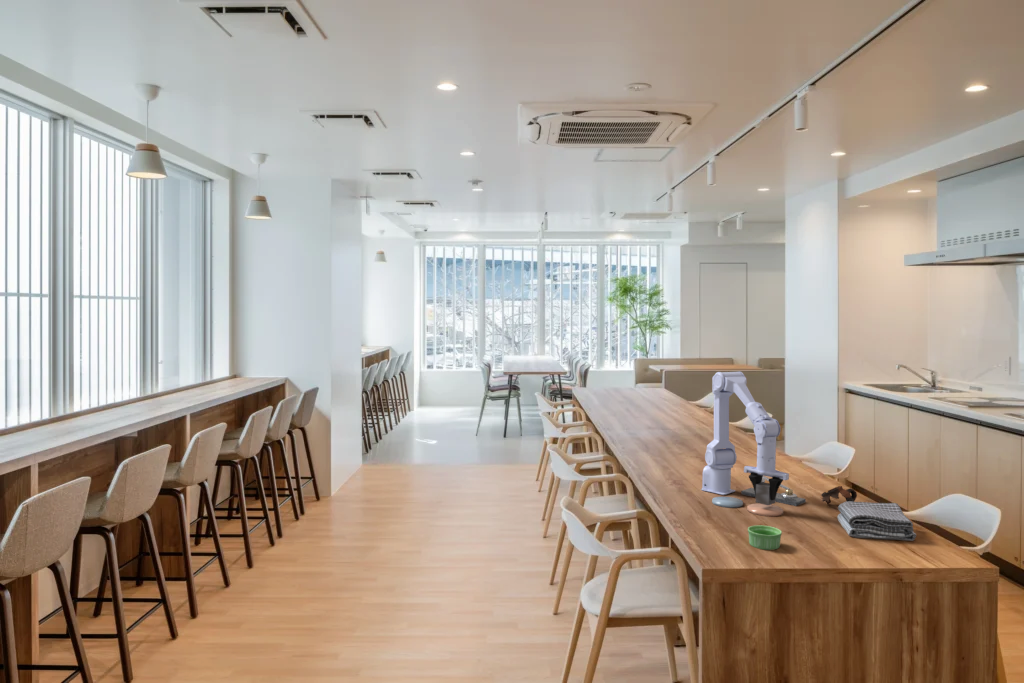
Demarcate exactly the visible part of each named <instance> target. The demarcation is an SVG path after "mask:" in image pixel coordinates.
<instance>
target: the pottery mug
mask: <svg viewBox="0 0 1024 683" xmlns="http://www.w3.org/2000/svg"><path fill="white" fill-rule="evenodd" d="M839 494H840V495H841V496H842V497H843V498H844V499H845V502H848V501H850V502H851V501H852V502H856V499H857V498H858V494H857V491H856V490H855V489H853V488H847V489H844V488H843V486H841V485H839V486H835V487H833V488H831V489H829V490H827V492H826V491H824V492H823V493H821V494H820V495H821V497H822V500H821V502H825V503H826V504H827V505H830V504H831V503H832V500H831V498H834V499H836V500H839V499H840V497H839Z"/></svg>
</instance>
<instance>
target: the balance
mask: <svg viewBox="0 0 1024 683" xmlns="http://www.w3.org/2000/svg"><path fill="white" fill-rule="evenodd" d="M769 479H770V478H769V477H768V476H763V477H762V482H765V483H766V481H768V482H769ZM762 482H761V483H762ZM780 487H781V488H782V489H784V490H785V492H782V493H779V492H777V494H776V498H775V503H781V504H785V505H789V506H793V507H797V506H800V505H802V504H805V503H806V501H807V500H806V498H803V497H800V496H799V497H798V494H796V493H794V489H791V487H788V486H786V485H784V484H782V483H781V485H780V486H779V488H780ZM740 492H741V494H740V495H744V496H747V497H752V498H756V496H755V491H754V488H753V487H750V488H746V489H742V490H741V491H740Z"/></svg>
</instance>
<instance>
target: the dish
mask: <svg viewBox="0 0 1024 683" xmlns="http://www.w3.org/2000/svg"><path fill="white" fill-rule="evenodd" d="M746 510H747V511H748V512H749V513H750V514H753V515H756V516H757V515H758V516H763V517H778V516H782V515H784V508H782V507H780V506H777V505H775V504H774V505H773V504H771V505H765V504H760V503H751V504H750V503H749V504H748V505H747V508H746Z"/></svg>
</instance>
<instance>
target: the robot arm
mask: <svg viewBox="0 0 1024 683" xmlns="http://www.w3.org/2000/svg"><path fill="white" fill-rule="evenodd" d="M711 378H712V382H711V384H712V386H711V388H712V392H711V393H712V394H713V439H712V440H711V441H710V442H709V443H708V444H707V445H706V450H705V454H704V460H705V462H706V464H707V465H705V466H704V467H703V469H702V486H701V487H702V488H700V489H701V491H704V492H708V493H713V494H718V495H721V496H726V495H729V494H731V493H734V492H736V489H732V488H731V482H732V481H731V479H732V475H731V474H732V468H734V465H736V462H737V452H736V449H735V448H736V446H735V444H733V443H732V442H731V441H730V397H731V396H732V395H733V394H735V395H736V396H737V398H739V400H740V401H741V402H742V403H743V405H744V406H745V411H744V412H745V414H746V416H747V418H748V419H749V421H751V423H752V424H753V426H754V427H753V433H754V435H755V441H756V444H757V446H756V448H757V449H756V466H750V465H745V466H744V467H743V473H745V474H747V473H748V474H749V475H748V478H749V481H750V482H751V485H752V488H754V491H755V496H756V484H758V483H761V482H762V477H763V476H765V477H767V478H769V477H770V478H769V481H768V483H769V484H770V500H775V498H776V494H777V493H778V490H779V488H780V485H781V484H782V483H783V481H788V480H789V479H790V474H789V473H787V472H784V471H780V470H777V469H776V461H777V460H776V458H777V457H776V455H777V452H776V451H777V437H779V436H780V435H781V426H780V423H779V421H778V420H777V419H776V418H773V417H771V416H770V415H769V413H768V412H767V411H766V409H765V408H764V406H763V405H762V403H761V402H758V401H756V400H755V398H754V396H753V395H752V394H751V391H750V390H749V388H748V385H747V384H748V382H747V377H746V375H745V374H744V373H743V372H742V371H729V372H728V371H725V372H723V371H722V372H721V371H717V372H716V373H715V374H714V375H713V376H712V377H711Z"/></svg>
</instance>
